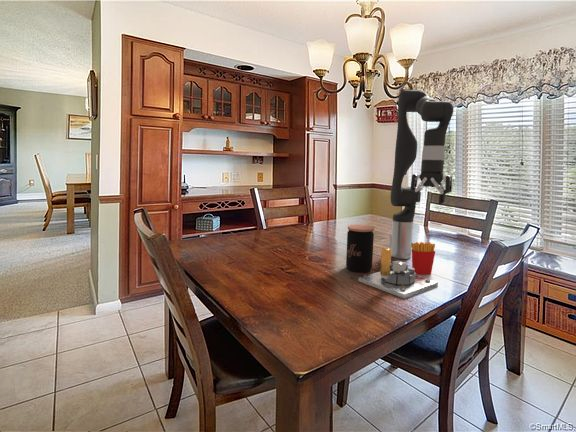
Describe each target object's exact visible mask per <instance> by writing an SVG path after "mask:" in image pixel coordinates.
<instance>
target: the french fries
mask: <svg viewBox="0 0 576 432" xmlns="http://www.w3.org/2000/svg"><path fill="white" fill-rule="evenodd" d="M435 249H436V244H435V243H431V242H429V241H427V242H423V241H420V242H418V241H416V242H412V243H411V268H414V269H415V273H416V274H415V275H416V276H419V275H420V276H430V275H432V272H433V271H432V270H433V267H434V266H433V265H434V261H435V256H436V251H435Z"/></svg>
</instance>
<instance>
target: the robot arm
mask: <svg viewBox="0 0 576 432" xmlns="http://www.w3.org/2000/svg"><path fill="white" fill-rule="evenodd" d="M397 100H398V101H397V103H398V104H397V129H396V130H397V131H396V140H395V141H396V142H395V149H394V150H395V151H394V165H393V166H394V167H393V175H392V182H391V190H390V197H389V198H390V204H391V205H392V206H393V207H404V208H403V209H402V210H400V211H399V212H397V213H394V214H393V215H392V226H391V227H392V228H391V234H390V236H389V243H388V245H389V246H388V248H389V249H391V258H395V259H398V260H399V259H403V260H404V259H406V260H408V259H412V247H411V243H413V229H414V218H415V216H416V215H415V214H416V206H417V203H421V198H422V197H421V196H422V192H421V191H422V190H423V189H424V188H425V187H427V188H428V187H429V188H430V187H431V188H436V190H437V191H438V192H439V194H438V195H439V196H438V205H439V206H440V205H441V206H443V205H444V204H445V202H446V195H447V194H449V193H452V191H453V175H447V176H446V175H445V176H444V166H445V157H446V156H445V153H446V149H445V144H446V135H447V131H448V128H449V124H450V123H451V120H452V117H453V115H454V105H453V103H452V102H450V101H448V100H437V99H435V98H432V97H430V96H429V95H428V94H427V93H426V91H424V90H421V89H403V90H401V91H400V93H399V95H398V99H397ZM407 113H417V114H418V115H420V117H421V120H422V121H423V122H426V123H428V122H429V123H438V125H437V126H436V127H433V128H428V129H426V130H425V131H424V135H423V146H422V147H423V148H422V152H421V166H420V174H418V173H413V174H412V176H411V182H410V186H402V183H403V181H404V177H405V175H406V173H407V172H408V171H409V169H410V168H411V167H412V166H413V164H414V163H415V162H416V158H417V153H418V140H417V138H416V136H415V134H414V132H413V131H412V129H411V127H410V125H409V121H408V114H407ZM419 180H420V183H419V184H418V181H419ZM443 180H444V183H445V187H444V185H443V183H442V182H443Z"/></svg>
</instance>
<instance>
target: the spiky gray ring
mask: <svg viewBox="0 0 576 432" xmlns="http://www.w3.org/2000/svg"><path fill="white" fill-rule="evenodd" d="M380 257H381V258H380V260H381V261H380V271H381V272H380V271H379V272H380V274H381V278H382V279H383V280H384V281H386V282H389V283H393V284H408V285H409V284H411V283H413V282H415V275H417V274H416V273H415V269H414V268H412V267H409V265H408V264H406V271H402V274H395V272H394V271H391V267H392V256H391V249H389V247H388V248H387V247H383V248H381V256H380Z"/></svg>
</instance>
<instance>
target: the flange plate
mask: <svg viewBox="0 0 576 432" xmlns="http://www.w3.org/2000/svg"><path fill="white" fill-rule="evenodd" d="M391 263H392V267H391V271H394V272H395V274H402V271H406V265H407V263H406V262H405V261H401V260H391ZM380 272H381V270H380V271H377V272H374V273H369V274H366V275H363V276H358V282H360V283H363V284H364V285H367V286H371V287H373V288H376V289H379V290H380V291H383V292H385V293H388V294H391V295H393V296H396V297H399V298H401V299H407V298H410V297H412V296H415V295H418V294H421V293H423V292H426V291H428V290H432V289H434V288H437V287H438V286H439V282H438V281H435V280H432V279H429V278H426V277H422V276H419V275H417V274H415V282H413V283H411V284H409V285H408V284H393V283H389V282H386V281H384V280H383V279H382V278H381V274H380Z"/></svg>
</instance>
